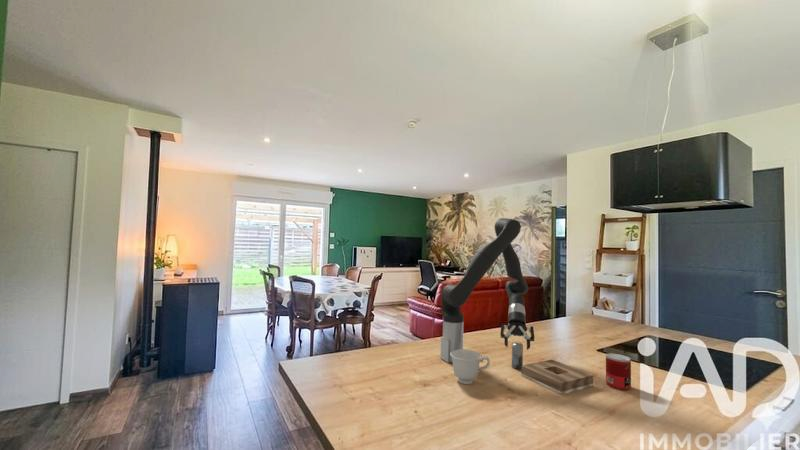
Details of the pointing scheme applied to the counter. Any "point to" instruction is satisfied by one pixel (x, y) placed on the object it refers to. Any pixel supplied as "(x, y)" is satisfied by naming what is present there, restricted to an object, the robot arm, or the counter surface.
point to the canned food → (618, 371)
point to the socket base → (557, 376)
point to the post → (517, 355)
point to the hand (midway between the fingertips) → (517, 347)
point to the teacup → (467, 364)
